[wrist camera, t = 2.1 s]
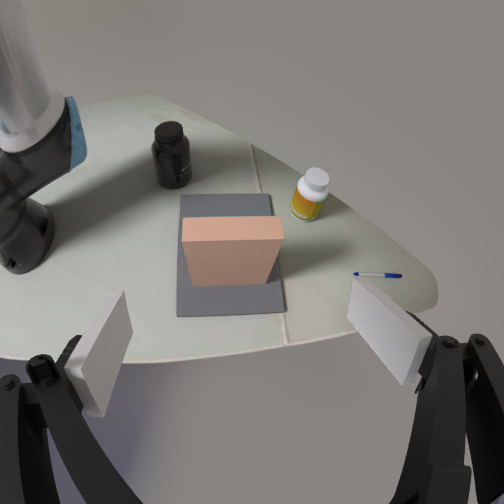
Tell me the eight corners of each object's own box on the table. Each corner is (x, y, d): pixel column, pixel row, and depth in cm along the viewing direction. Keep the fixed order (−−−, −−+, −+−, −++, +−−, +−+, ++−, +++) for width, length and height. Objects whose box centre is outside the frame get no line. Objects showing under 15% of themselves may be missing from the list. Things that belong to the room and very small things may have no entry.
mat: (283, 312, 42) (284, 311, 41) (177, 316, 40) (176, 316, 39) (267, 195, 51) (268, 193, 51) (181, 197, 49) (181, 195, 49)
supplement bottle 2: (309, 228, 49) (326, 194, 41) (283, 212, 50) (296, 177, 41) (321, 209, 51) (338, 175, 43) (297, 194, 52) (310, 159, 44)
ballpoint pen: (399, 273, 47) (402, 272, 46) (400, 278, 47) (403, 276, 46) (352, 273, 46) (355, 271, 45) (353, 277, 46) (355, 275, 45)
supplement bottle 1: (193, 187, 51) (189, 139, 40) (157, 192, 49) (146, 145, 39) (191, 162, 54) (187, 115, 43) (158, 166, 52) (149, 120, 42)
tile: (265, 284, 43) (283, 239, 30) (192, 286, 41) (181, 241, 29) (263, 264, 44) (280, 214, 32) (193, 266, 43) (183, 215, 30)
